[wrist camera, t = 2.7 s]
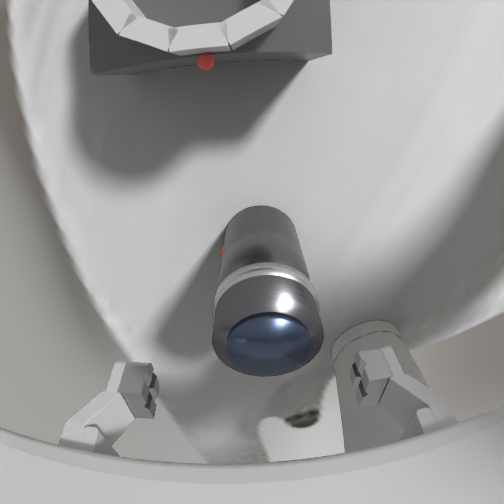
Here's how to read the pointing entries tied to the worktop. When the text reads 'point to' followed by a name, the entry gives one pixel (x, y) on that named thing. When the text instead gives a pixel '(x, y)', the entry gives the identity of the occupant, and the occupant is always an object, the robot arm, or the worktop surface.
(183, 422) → the worktop surface
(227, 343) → the lens
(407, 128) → the worktop surface
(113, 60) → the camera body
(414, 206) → the worktop surface
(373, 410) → the cup
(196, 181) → the worktop surface
